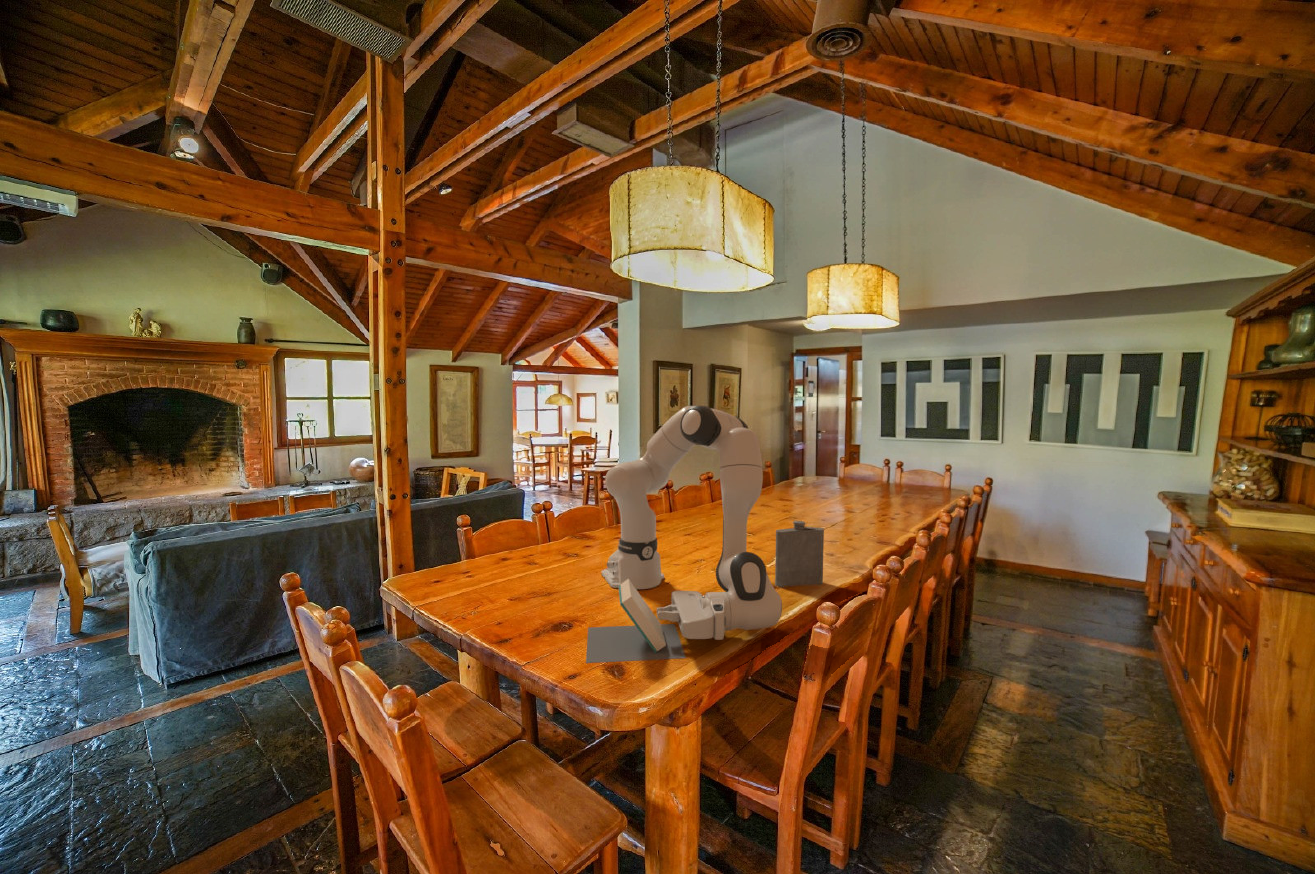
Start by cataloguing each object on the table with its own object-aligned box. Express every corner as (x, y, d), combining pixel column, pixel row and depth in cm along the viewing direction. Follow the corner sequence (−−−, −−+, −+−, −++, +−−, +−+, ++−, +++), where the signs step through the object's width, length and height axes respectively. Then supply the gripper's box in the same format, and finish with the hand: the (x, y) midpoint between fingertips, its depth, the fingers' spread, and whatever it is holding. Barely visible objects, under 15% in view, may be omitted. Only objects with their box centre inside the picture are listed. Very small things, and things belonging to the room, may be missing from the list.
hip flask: (777, 587, 160) (778, 524, 158) (772, 583, 164) (773, 521, 162) (824, 584, 163) (826, 521, 162) (818, 580, 167) (819, 519, 166)
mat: (674, 625, 132) (674, 623, 132) (685, 659, 114) (686, 658, 114) (588, 629, 130) (588, 627, 130) (585, 664, 112) (585, 663, 112)
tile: (660, 622, 128) (628, 578, 127) (666, 645, 117) (631, 596, 115) (650, 630, 128) (618, 585, 127) (655, 653, 116) (620, 604, 115)
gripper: (705, 583, 134) (653, 585, 132) (724, 615, 113) (662, 618, 112) (705, 607, 134) (652, 609, 133) (724, 643, 114) (662, 646, 112)
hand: (657, 613), depth 122 cm, fingers closed
